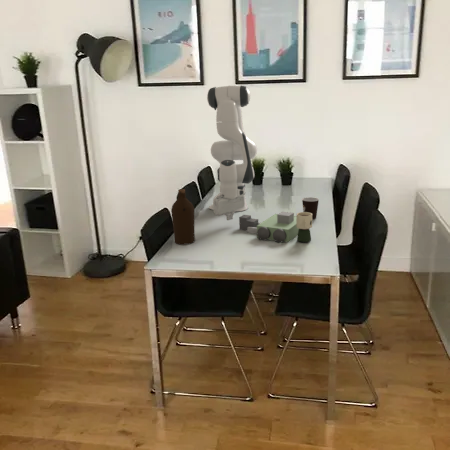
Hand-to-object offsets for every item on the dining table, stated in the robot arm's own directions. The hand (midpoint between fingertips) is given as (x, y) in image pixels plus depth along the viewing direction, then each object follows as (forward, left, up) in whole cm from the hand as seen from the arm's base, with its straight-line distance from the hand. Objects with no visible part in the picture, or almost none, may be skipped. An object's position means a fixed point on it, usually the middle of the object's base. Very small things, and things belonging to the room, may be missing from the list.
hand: (229, 219), depth 261 cm
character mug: (+42, -7, -4) cm, 43 cm away
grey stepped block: (+11, 0, -4) cm, 11 cm away
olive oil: (-9, -29, -4) cm, 30 cm away
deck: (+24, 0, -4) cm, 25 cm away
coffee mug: (+31, +32, -4) cm, 45 cm away
